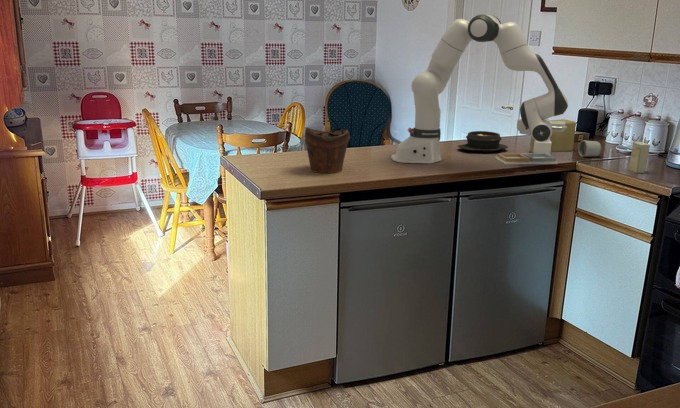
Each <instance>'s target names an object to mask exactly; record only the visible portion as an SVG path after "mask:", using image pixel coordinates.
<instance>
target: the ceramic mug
mask: <svg viewBox="0 0 680 408" xmlns="http://www.w3.org/2000/svg"><path fill="white" fill-rule="evenodd" d="M602 149H603V148H602V144H601V143H600V142H599V141H597V140H585V139H583V140H581V141H580V142H579V144H578V154H579V156H580V157H581V158H582V157H583V158H588V157H589V158H590V157H592V158H595V157H599V156H600V155H601V153H602Z"/></svg>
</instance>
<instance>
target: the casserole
mask: <svg viewBox="0 0 680 408" xmlns="http://www.w3.org/2000/svg"><path fill="white" fill-rule="evenodd" d="M465 139H467V141H466V142H467V143H463V144H458V145H457V147H458V148H460V149H463V150H466V151H472V152H477V153H494V152H496V151H500V150H505V149H508V148H509V146H507V145H505V144H503V143H500V142H501V141H502V137H501V134H500V133H498V132H493V131H489V130H488V131H486V130H476V131H475V130H474V131H473V130H472V131H469V132H468V133H467V135H466V136H465Z"/></svg>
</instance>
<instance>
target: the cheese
mask: <svg viewBox="0 0 680 408" xmlns="http://www.w3.org/2000/svg"><path fill="white" fill-rule="evenodd" d="M549 120H550V121H564V122H566V124H565V126H566V127H567V128H566V129H565V130H564V131H562V132H557V131H552V135H551V137H550V141H551V142H552V148H551V153H553V152H572V151H573V148H574V142H575V134H576V128H577V122H576V121H574V120H571V119H570V120H569V119H565V118H563V119H549ZM530 137H531V138H530V144H529V145H530V146H529V152H530V153H533V151H534V141H535V140H534V139H533V138H532V136H530Z"/></svg>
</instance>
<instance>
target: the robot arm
mask: <svg viewBox="0 0 680 408" xmlns="http://www.w3.org/2000/svg"><path fill="white" fill-rule="evenodd" d="M470 19H471V20H470V21H468V20H466V19H464V18H457V19H454V21H452V23H451V24H450V25H449V26H448V28H446V30H445V32H444V34H443V35H442V37H441V39H440V40H439V42H438V43H437V45H436V47H435V49H434V50H433V52H432V55H431V57H430V61H429V64H428V66H427V68H426V70H425V71H424V72H420V73H418V74H417V75H416V76H415V77H414V79H412V82H411V85H410V86H411V91H412V93H413V101H414V102H413V103H414V108H415V109H414V111H415V113H414V115H415V116H414V127H413V128H411V127H408V128H407V132H408V133H409V136H408V137H407V138H405V139H404V140H403V141H401V142H400V143H399V144H398V145H397V148H396V152H395V154H392V155H391V157H390V158H391V160H392V161H394V162H396V163H404V164H405V163H406V164H407V163H408V164H409V163H410V164H434V163H437V162H440V161H442V155H441V147H440V141H441V134H442V133H441V128H440V127H441V108H440V102H439V95H440V94H441V93H443V92H444V91H445V89H446V87H447V84H448V82H449V81H450V78H451V76H452V73H453V71H454V69H455V67H456V65H457V63H459V61H460V58H461V57H462V55H463V53H464V52H465V51H466V48H467V47H468V45H469V44H470V43H471V42H472V41H475V42H476V43H477V42H478V43H489V42H494V43H495V44H496V45H497V49H498V50H499V51H498V52H499V53H500V56H501V60H502V62H503V64H504V65H505V67H506V68H507V69H509V70H511V71H516V72H533V73H534V72H535V73H537V74H538V75H539V76H540V78H541V79H542V81H543V83H544V84H545V86H546V89H547V90H548V92H546V93H544V94H542V95H539V96H536V97H531V98H530V99H527V100H524V101H523V102H522V103H521V105H520V108H519V113H520V114H519V115H520V119H519V118H518V119H517V121H516V129H517V131H519V134H520V135H524V136H525V135H526V136H530V137H531V136H532V138H533V139H534V140H535V141H538V142H544V141H547V140H548V139H549V138H550V137H551V135H552V131H557V132H562V131H564V130H565V129H566V128H567V127H566V126H565V124H566V122H564V121H550V120H551V119H549V118H552V117H557V116H562V115H564V114H565V112H566V111H567V109H568V107H569V103H568V102H569V101H568V99H567V97H566V95H565V94H564V92H563V91H562V90H561V88H560V87H559V85H558V83H557V82H556V80H555V78H554V76H553V74H552V73H551V71H550V69H549V67H548V65H547V64H546V62H545V61H544V59H543V58H542V56H541V55H539V54H537V53H534V52H533V51H532V50H531V49H530V47H529V45H528V41H527V39H526V37H525V35H524V32H523V31H522V29H521V26H519V24H518V23H517V22H514V21H509V22H505V23H501V21H500V19H499V18H498V17H497V16H495V15H492V14H487V13H483V14H477V15H475V16H473V17H472V18H470Z"/></svg>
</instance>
